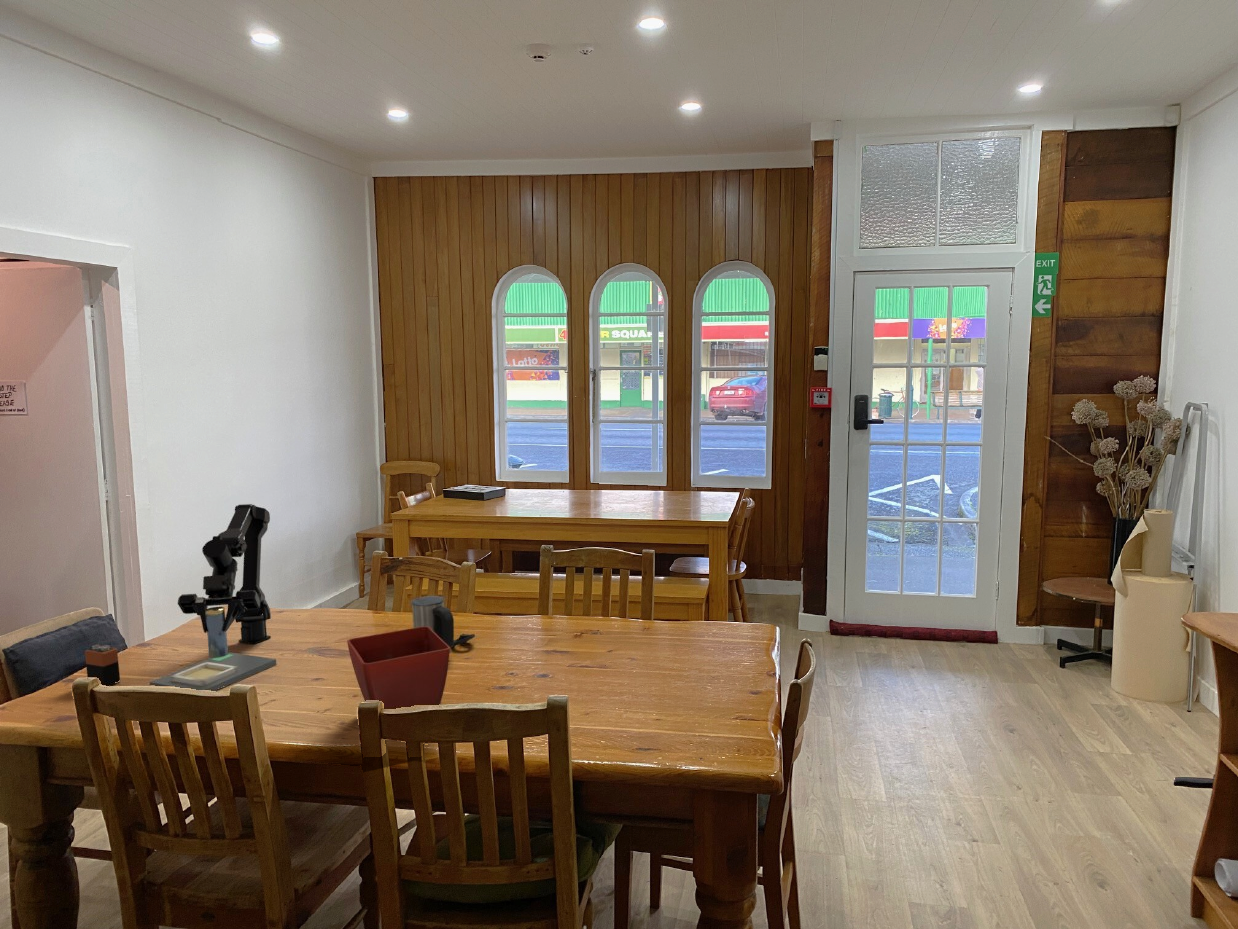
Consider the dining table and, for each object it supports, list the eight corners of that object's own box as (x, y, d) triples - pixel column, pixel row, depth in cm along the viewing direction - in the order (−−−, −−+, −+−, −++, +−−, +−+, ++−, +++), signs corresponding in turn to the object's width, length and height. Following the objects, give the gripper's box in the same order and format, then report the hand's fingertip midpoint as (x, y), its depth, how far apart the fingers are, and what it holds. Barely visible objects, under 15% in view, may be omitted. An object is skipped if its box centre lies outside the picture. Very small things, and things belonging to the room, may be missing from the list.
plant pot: (367, 739, 186) (362, 663, 184) (350, 709, 202) (346, 638, 200) (454, 720, 194) (451, 647, 192) (431, 692, 211) (428, 625, 209)
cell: (228, 651, 225) (225, 605, 223) (227, 656, 220) (223, 610, 219) (210, 653, 223) (206, 607, 222) (208, 658, 219) (204, 612, 217)
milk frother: (406, 655, 239) (403, 602, 237) (439, 638, 253) (436, 588, 251) (450, 661, 233) (448, 607, 232) (481, 642, 248) (479, 592, 246)
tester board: (226, 657, 241) (225, 647, 240) (276, 664, 234) (275, 654, 233) (149, 687, 219) (149, 677, 219) (202, 697, 212) (201, 686, 211)
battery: (105, 688, 219) (101, 650, 218) (87, 685, 222) (83, 647, 221) (121, 682, 223) (117, 644, 222) (103, 679, 226) (99, 642, 225)
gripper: (176, 564, 221) (165, 619, 212) (254, 559, 224) (246, 613, 215) (189, 586, 230) (179, 640, 220) (263, 581, 233) (256, 634, 224)
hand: (214, 631), depth 220 cm, fingers closed on cell, 4 cm apart
